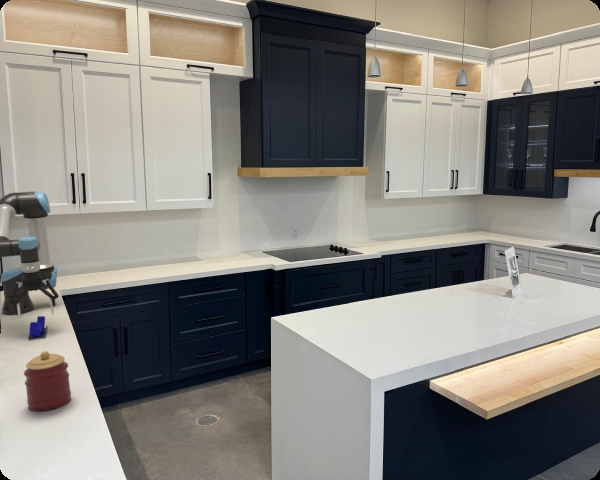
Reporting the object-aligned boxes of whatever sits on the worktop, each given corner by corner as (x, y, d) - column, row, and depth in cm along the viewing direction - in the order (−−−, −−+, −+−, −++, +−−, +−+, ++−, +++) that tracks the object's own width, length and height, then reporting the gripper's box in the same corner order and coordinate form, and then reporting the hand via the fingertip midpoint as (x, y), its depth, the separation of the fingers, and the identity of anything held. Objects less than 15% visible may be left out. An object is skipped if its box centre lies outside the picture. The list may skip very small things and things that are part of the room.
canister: (25, 415, 157) (19, 362, 154) (29, 398, 169) (23, 348, 166) (71, 406, 162) (65, 354, 159) (71, 390, 174) (66, 342, 171)
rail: (31, 330, 239) (31, 327, 239) (47, 328, 242) (47, 325, 242) (28, 340, 225) (28, 337, 225) (45, 338, 228) (45, 335, 228)
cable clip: (39, 336, 228) (40, 323, 228) (29, 335, 228) (30, 322, 227) (47, 328, 240) (48, 316, 240) (37, 328, 239) (38, 316, 239)
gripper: (-2, 275, 221) (4, 321, 224) (60, 269, 230) (65, 313, 234) (1, 272, 228) (6, 316, 231) (61, 266, 237) (66, 309, 241)
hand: (36, 315), depth 233 cm, fingers open, 13 cm apart
